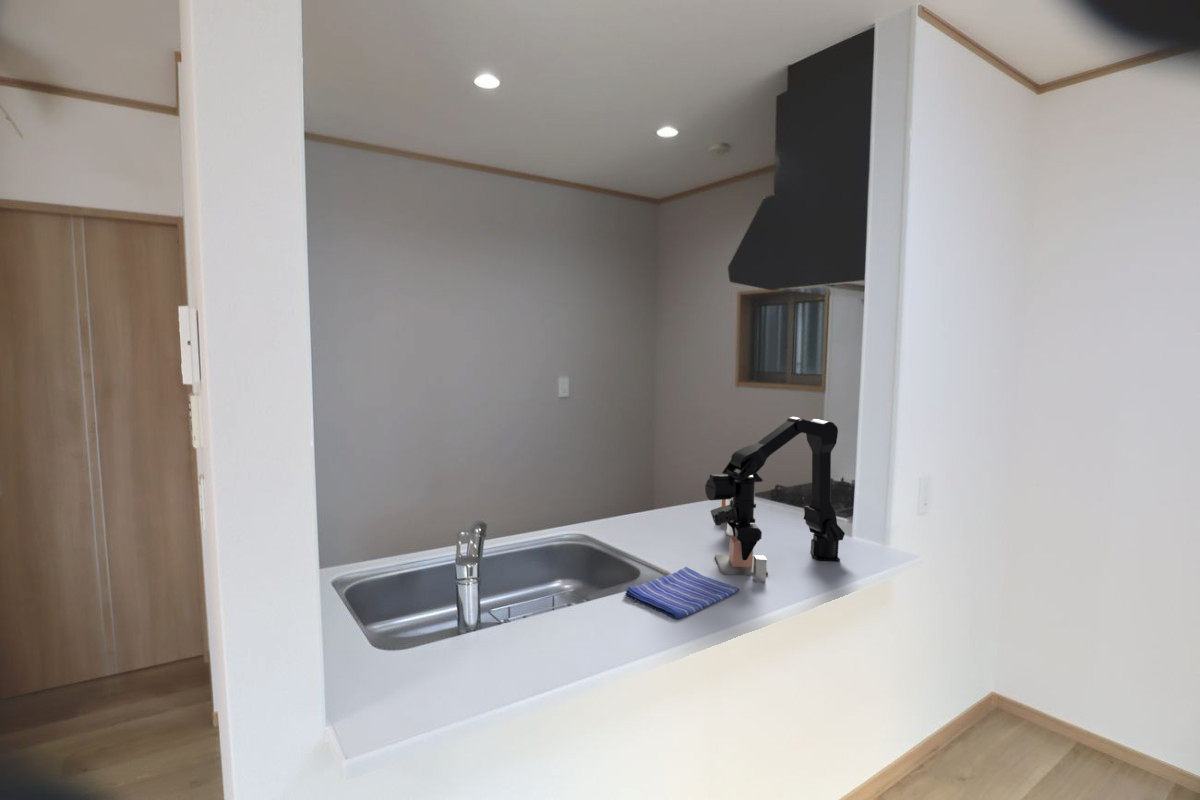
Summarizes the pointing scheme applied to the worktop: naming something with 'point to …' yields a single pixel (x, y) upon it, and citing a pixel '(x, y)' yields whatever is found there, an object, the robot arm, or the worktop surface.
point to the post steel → (759, 568)
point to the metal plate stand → (729, 569)
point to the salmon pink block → (738, 554)
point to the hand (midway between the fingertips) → (741, 553)
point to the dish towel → (681, 593)
